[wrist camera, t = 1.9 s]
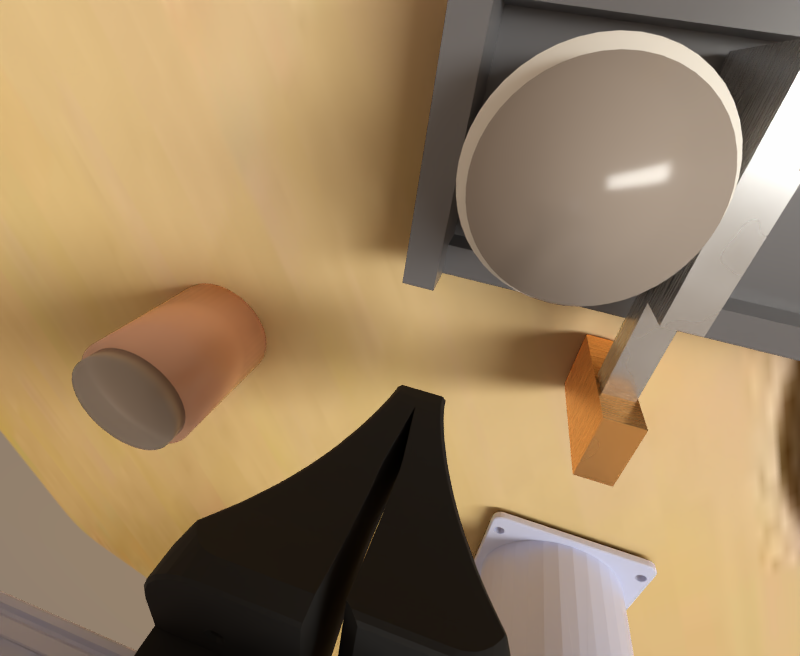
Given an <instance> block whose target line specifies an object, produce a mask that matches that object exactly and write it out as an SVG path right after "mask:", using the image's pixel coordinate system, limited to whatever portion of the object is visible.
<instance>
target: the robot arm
mask: <svg viewBox="0 0 800 656" xmlns="http://www.w3.org/2000/svg"><path fill="white" fill-rule="evenodd" d="M444 406H445V399H444V398H443V397H442V396H438V395H435V394H432V393H428V392H425V391H421V390H418V389H414V388H411V387H408V386H404V385H401V386H399V387H398V388H397V389H396V390H395V392H394V393H393V394H392V395H391V396H390V398H389V399H388V400H387V401H386V402H385V403H384V404H383V405H382V406H381V407H380V408H379V409H378V410H377V411H376V412H375V413H374V414H373V415H372V416H371V417H370V418H369V419H368V420H367V421H366V422H365V423H364V424H363V425H361V426H360V427H359V428H358V429H357V430H356V431H354V432H353V433H352V434H351V435H350V436H348V437H347V438H346V439H345V440H344V441H342V442H341V443H340V444H339V445H337V446H336V447H335V448H333V449H332V450H331V451H329V452H328V453H326V454H325V455H324V456H322V457H321V458H319V459H318V460H316V461H315V462H313V463H312V464H310V465H309V466H307V467H306V468H304V469H302V470H301V471H299V472H297V473H296V474H294V475H293V476H291V477H289V478H287V479H286V480H284V481H282V482H280V483H279V484H277V485H275V486H273V487H271V488H269V489H267V490H265V491H263V492H261V493H259V494H257V495H255V496H253V497H251V498H249V499H247V500H245V501H243V502H240V503H238V504H236V505H233V506H231V507H229V508H226V509H224V510H221V511H219V512H217V513H214V514H212V515H209V516H207V517H205V518H202V519H199V520H197V521H196V522H195V523H194V524H193V525H192V526H191V527H190V528H189V529H188V530H187V531H186V532H185V533H184V534H183V536H182V537H181V538H180V539H179V540H178V541H177V542H176V543H175V544H174V545H173V546H172V547H171V549H170V550H169V551H168V553H167V554H166V555H165V556H164V558H163V559H162V560H161V561H160V563H159V564H158V565H157V567H156V568H155V569H154V570H153V572H152V573H151V574H150V575H149V577H148V578H147V580H146V582H145V584H144V589H145V596H146V600H147V603H148V606H149V609H150V612H151V615H152V617H153V620H154V623H155V627H154V628H153V629H152V631H151V632H150V634H149V635H148V636H147V638H146V639H145V641H144V642H143V644H142V645H141V646H140V648H139V649H138V651H136V650H134V649H131V648H129V647H127V646H125V645H122V644H120V643H118V642H116V641H113V640H111V639H109V638H107V637H104V636H102V635H100V634H97V633H95V632H93V631H90V630H88V629H86V628H84V627H81V626H79V625H77V624H75V623H72V622H70V621H68V620H66V619H63V618H61V617H59V616H56V615H54V614H52V613H50V612H47V611H45V610H43V609H41V608H38V607H36V606H34V605H31V604H29V603H27V602H25V601H23V600H20V599H18V598H16V597H13V596H11V595H9V594H6V593H4V592H2V591H0V656H332V652H333V649H334V646H335V643H336V640H337V637H338V634H339V631H340V628H341V625H342V622H343V626H342V633H341V640H340V647H339V654H338V656H634V654H633V648H632V642H631V636H630V630H629V624H628V618H627V612H626V610H627V609H628V607H629V606H630V605H631V604H632V603H633V602H634V600H635V599H636V598H637V597H638V596H639V595H640V593H641V592H642V591H643V590H644V589H645V588H646V586H647V585H648V584H649V583H650V582H651V581H652V579H653V578H654V577H655V576H656V574H657V571H656V567H655V564H654V563H653V562H651V561H649V560H646V559H643V558H640V557H637V556H634V555H631V554H628V553H625V552H622V551H619V550H616V549H613V548H610V547H607V546H604V545H601V544H598V543H595V542H592V541H589V540H586V539H583V538H580V537H577V536H574V535H571V534H568V533H565V532H562V531H559V530H556V529H553V528H550V527H547V526H544V525H541V524H538V523H535V522H532V521H529V520H526V519H523V518H520V517H517V516H514V515H511V514H508V513H505V512H497V513H494V514H493V516H492V518H491V521H490V523H489V525H488V528H487V530H486V533H485V535H484V537H483V540H482V542H481V544H480V547H479V549H478V552H477V554H476V556H475V559H473V556H472V553H471V551H470V548H469V545H468V542H467V540H466V537H465V534H464V531H463V527H462V524H461V521H460V517H459V514H458V510H457V507H456V503H455V499H454V495H453V491H452V486H451V481H450V476H449V471H448V465H447V458H446V450H445V441H444V423H443V420H444ZM384 509H385V510H384ZM382 514H383V515H382ZM381 516H382V517H381ZM380 518H381V520H380ZM379 521H380V522H379ZM378 523H379V525H378ZM377 525H378V527H377ZM376 527H377V529H376ZM375 530H376V532H375ZM374 532H375V534H374ZM373 534H374V537H373V539H372V536H373ZM371 539H372V542H371V544H370V541H371ZM369 544H370V546H369ZM368 546H369V549H368ZM367 549H368V551H367ZM366 551H367V554H366ZM365 554H366V556H365ZM364 557H365V558H364ZM363 560H364V561H363ZM343 619H344V620H343Z"/></svg>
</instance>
